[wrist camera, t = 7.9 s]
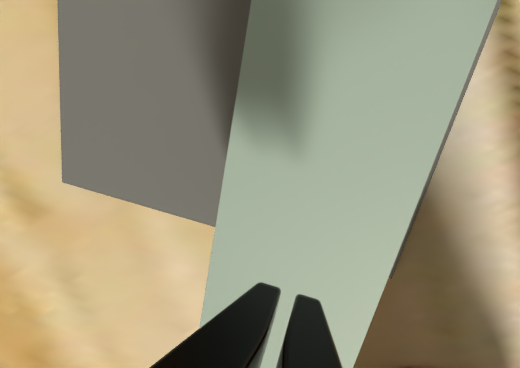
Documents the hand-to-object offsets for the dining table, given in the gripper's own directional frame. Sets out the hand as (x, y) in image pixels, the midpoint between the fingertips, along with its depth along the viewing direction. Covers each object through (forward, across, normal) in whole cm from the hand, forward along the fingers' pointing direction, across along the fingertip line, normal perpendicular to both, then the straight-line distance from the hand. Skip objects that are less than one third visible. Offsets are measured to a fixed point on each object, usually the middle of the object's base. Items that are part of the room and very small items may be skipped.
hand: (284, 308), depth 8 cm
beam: (+6, 0, 0) cm, 6 cm away
